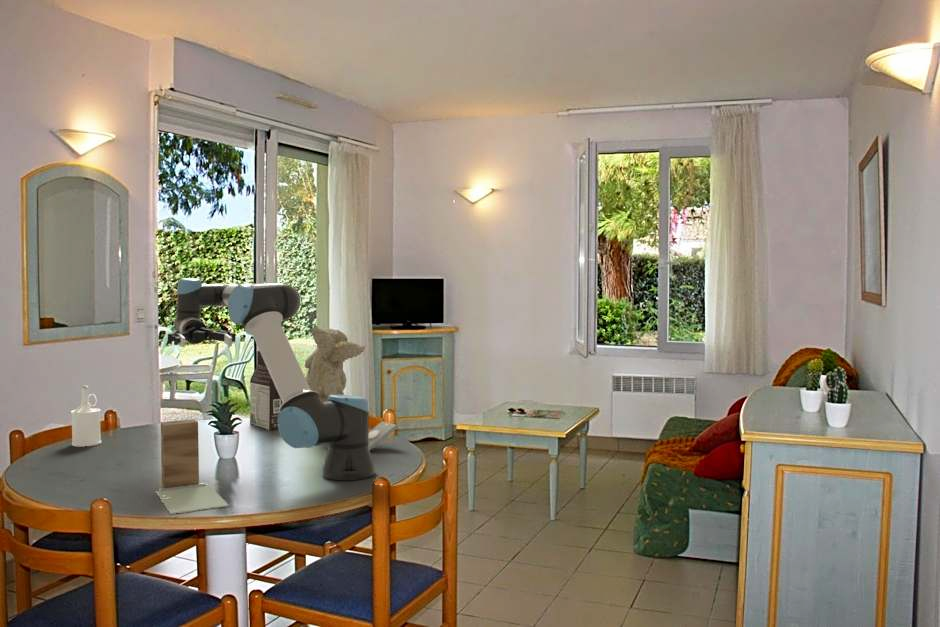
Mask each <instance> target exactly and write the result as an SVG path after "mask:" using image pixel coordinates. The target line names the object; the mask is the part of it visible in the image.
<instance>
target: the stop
mask: <svg viewBox="0 0 940 627" xmlns="http://www.w3.org/2000/svg"><path fill="white" fill-rule="evenodd" d="M206 485H207V483H206V482H199V483H198V484H190V485H182V486H174V487H166V488H162V487H160V488H159V489H158V491H167V490H175V489H183V488H191V487H199V486H206Z"/></svg>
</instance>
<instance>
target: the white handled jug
mask: <svg viewBox="0 0 940 627" xmlns="http://www.w3.org/2000/svg"><path fill="white" fill-rule="evenodd" d="M81 388H82V389H81V402H80V405H79V406H77V407H76V409H73V410H71V411H70V414H71V438H72V439H71V440H72V442H71V446H73V447H76V448H77V447H79V448H86V447H85V446H87V447H93V446H97V445H101V444H102V440H101V439H102V438H101V409H100V408H99V407H98V408H97V407H95V408H94V406H96V405H97V403H98V397H97V396H96V394H95V393H90V394H89V385H82V387H81ZM91 396H93V397H94V399H95V403H94V405H93V404H91V402H90V400H91V399H90V398H91Z"/></svg>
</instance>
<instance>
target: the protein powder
mask: <svg viewBox="0 0 940 627" xmlns="http://www.w3.org/2000/svg"><path fill="white" fill-rule="evenodd" d="M256 361H257V362H256V363H257V364H256V367H255V369H254V371H253V373H252V375H251V378H250V380H249V388H250V389H249V393H250V394H249V396H250V398H249V399H250V406H249V407H250V409H249V410H250V412H249V413H250V414H249V415H250V416H249V424H250V425H253V424H254V425H253V426H257V427H260V428H263V429H265V430H267V431H273V430H272V429H275V430H279V429H278V425H279V423H278V416H279V413H280V407H281V405H282V400H281V398H280V396H279V394H278V391H277V389H276V387H275V385H274V382H273V380H272V378H271V376H270V373H269V371H268V369H267V366H266V364H265V362H264V360H263V357H262V355H261V353H260V351H259V350H257V352H256Z"/></svg>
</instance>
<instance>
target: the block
mask: <svg viewBox="0 0 940 627" xmlns="http://www.w3.org/2000/svg"><path fill="white" fill-rule="evenodd" d="M199 449H200V448H199V421H197V420H196V419H195V418H192V419H183V420H172V421H170V420H169V421H162V422H160V451H161V452H160V454H161V455H160V456H161V457H160V458H161V460H160V461H161V463H160V464H161V488H162V487H163V488H166V487H174V486H182V485H190V484H198V483H200V467H199V466H200V462H199V460H200V459H199V458H200V457H199V454H200V453H199Z"/></svg>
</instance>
